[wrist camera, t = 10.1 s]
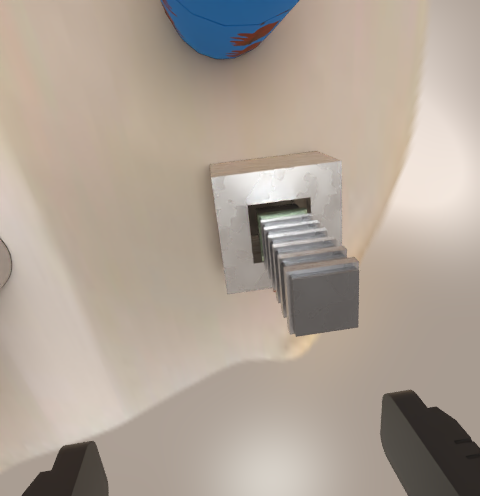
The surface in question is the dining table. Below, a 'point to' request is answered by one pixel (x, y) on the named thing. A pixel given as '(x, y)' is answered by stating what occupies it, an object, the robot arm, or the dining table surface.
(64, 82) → the dining table surface
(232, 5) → the thermos
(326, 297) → the column
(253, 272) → the housing
